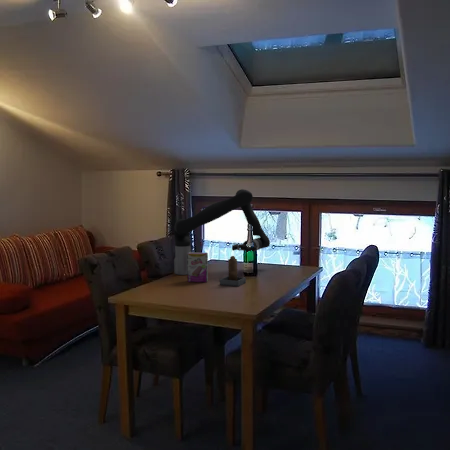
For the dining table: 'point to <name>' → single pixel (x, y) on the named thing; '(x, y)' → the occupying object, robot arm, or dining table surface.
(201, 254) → the candy bar box
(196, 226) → the robot arm
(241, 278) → the tray
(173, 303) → the dining table surface
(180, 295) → the dining table surface
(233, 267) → the pepper mill
